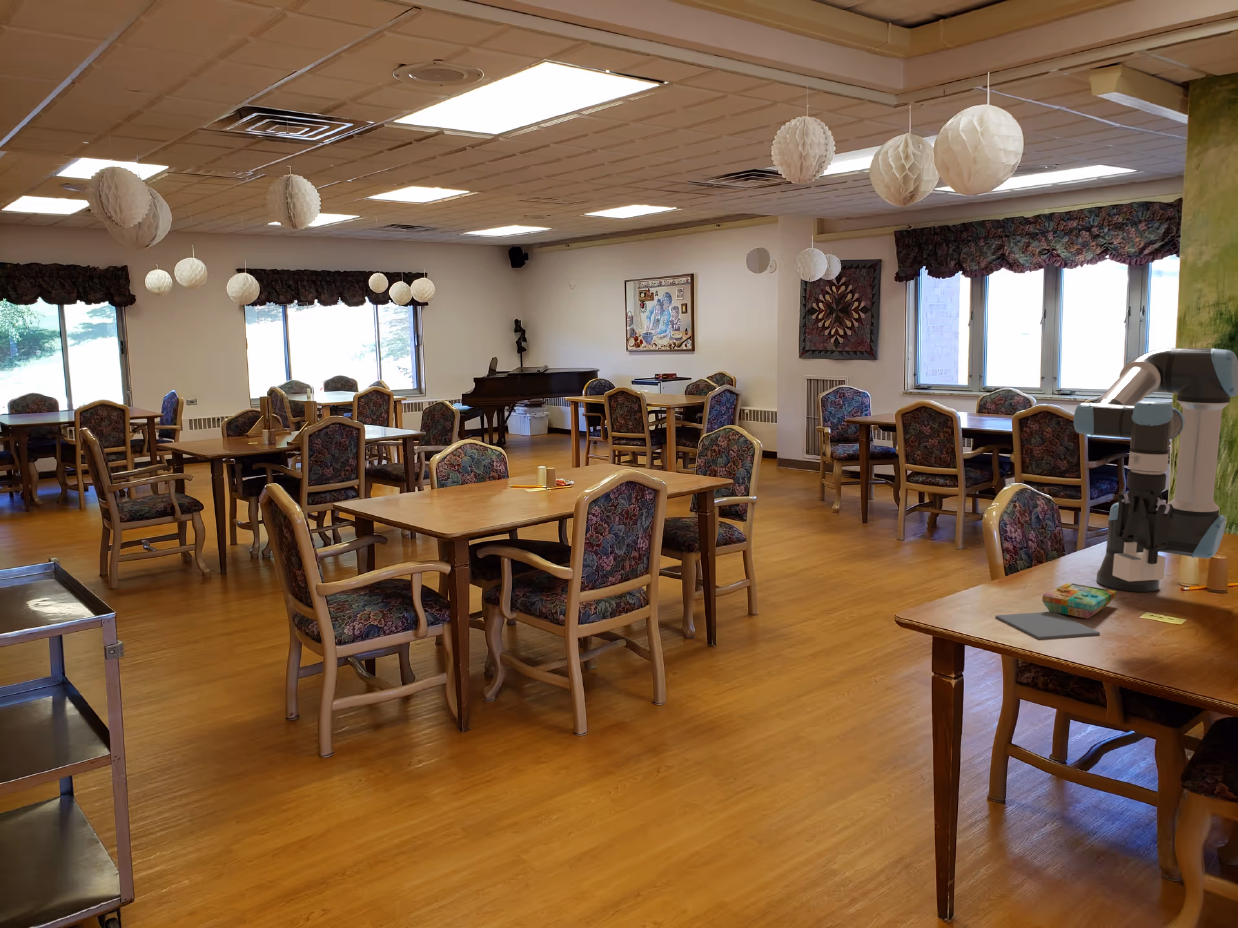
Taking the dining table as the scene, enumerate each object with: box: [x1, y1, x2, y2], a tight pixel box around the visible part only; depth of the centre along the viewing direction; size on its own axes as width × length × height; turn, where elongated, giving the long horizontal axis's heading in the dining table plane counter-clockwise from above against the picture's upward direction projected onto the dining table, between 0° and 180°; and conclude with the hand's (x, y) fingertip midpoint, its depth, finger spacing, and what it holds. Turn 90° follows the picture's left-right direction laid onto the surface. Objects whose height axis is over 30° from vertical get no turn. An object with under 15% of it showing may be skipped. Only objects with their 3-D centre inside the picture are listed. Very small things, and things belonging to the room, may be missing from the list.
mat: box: [995, 611, 1101, 640], centre depth 221 cm, size 16×16×1 cm
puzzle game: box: [1041, 582, 1118, 620], centre depth 234 cm, size 12×5×20 cm
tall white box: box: [1112, 552, 1166, 581], centre depth 210 cm, size 9×5×5 cm, turn 102°
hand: (1137, 573), depth 210 cm, fingers closed on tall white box, 5 cm apart
